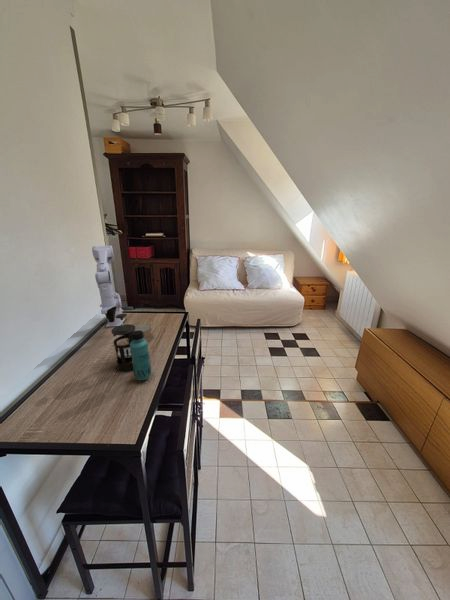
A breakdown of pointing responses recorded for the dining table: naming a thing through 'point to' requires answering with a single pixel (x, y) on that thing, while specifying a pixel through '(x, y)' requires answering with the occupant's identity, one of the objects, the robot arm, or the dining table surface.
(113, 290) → the robot arm
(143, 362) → the beverage bottle
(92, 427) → the dining table surface
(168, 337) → the dining table surface
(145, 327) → the pot
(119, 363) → the french press
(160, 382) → the dining table surface
